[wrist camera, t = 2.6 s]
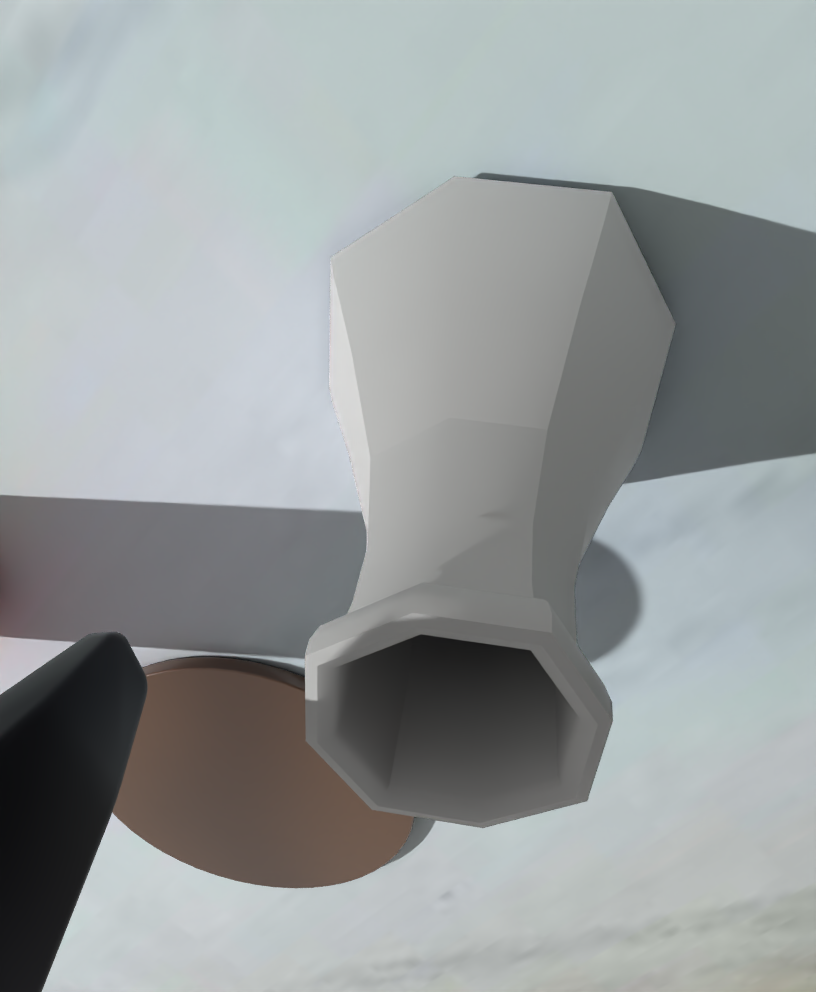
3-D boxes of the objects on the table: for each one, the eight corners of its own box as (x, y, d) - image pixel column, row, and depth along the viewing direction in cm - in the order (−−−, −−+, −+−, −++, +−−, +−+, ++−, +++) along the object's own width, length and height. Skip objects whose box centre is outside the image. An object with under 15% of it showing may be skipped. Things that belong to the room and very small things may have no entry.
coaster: (373, 645, 21) (370, 658, 21) (444, 877, 27) (443, 891, 26) (30, 665, 24) (22, 677, 23) (161, 874, 29) (156, 886, 29)
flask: (276, 218, 15) (-35, 485, 7) (657, 123, 13) (864, 328, 5) (376, 516, 19) (251, 930, 10) (685, 473, 17) (833, 929, 9)
